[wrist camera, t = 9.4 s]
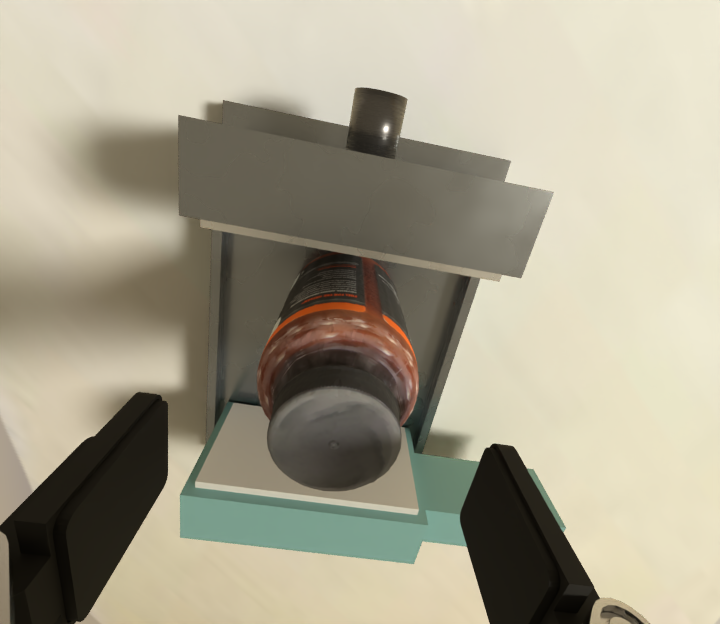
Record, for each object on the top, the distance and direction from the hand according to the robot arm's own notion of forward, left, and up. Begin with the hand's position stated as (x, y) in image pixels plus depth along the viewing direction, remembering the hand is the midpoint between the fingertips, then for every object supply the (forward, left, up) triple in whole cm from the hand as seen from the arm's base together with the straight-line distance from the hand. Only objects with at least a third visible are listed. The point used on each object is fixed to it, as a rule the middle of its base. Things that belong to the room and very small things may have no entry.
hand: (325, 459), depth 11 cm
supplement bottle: (+1, 0, -12) cm, 12 cm away
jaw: (-9, -4, -11) cm, 15 cm away
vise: (-2, 0, -13) cm, 13 cm away
